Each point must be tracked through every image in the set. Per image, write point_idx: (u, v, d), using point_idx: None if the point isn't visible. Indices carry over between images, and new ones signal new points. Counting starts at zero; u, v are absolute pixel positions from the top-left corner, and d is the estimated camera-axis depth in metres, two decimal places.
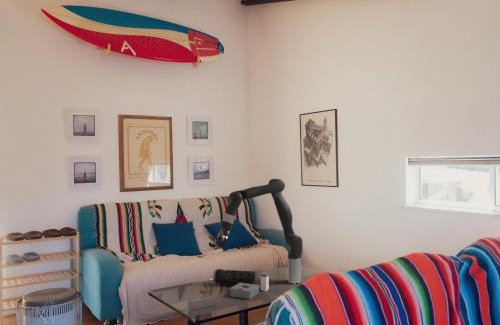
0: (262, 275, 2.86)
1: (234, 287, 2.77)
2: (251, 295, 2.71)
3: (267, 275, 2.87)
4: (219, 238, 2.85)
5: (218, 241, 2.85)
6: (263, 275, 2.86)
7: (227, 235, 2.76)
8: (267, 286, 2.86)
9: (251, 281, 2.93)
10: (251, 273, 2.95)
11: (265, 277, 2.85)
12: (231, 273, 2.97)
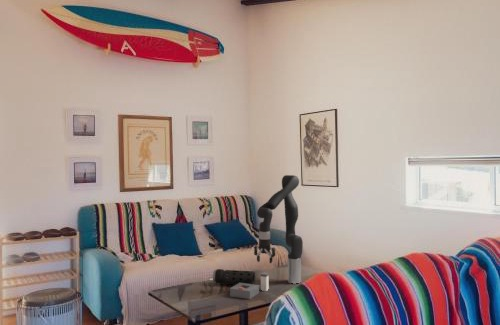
0: (262, 275, 2.86)
1: (234, 287, 2.77)
2: (251, 295, 2.71)
3: (267, 275, 2.87)
4: None
5: (259, 258, 2.89)
6: (263, 275, 2.86)
7: (274, 251, 2.84)
8: (267, 286, 2.86)
9: (251, 281, 2.93)
10: (251, 273, 2.95)
11: (265, 277, 2.85)
12: (231, 273, 2.97)
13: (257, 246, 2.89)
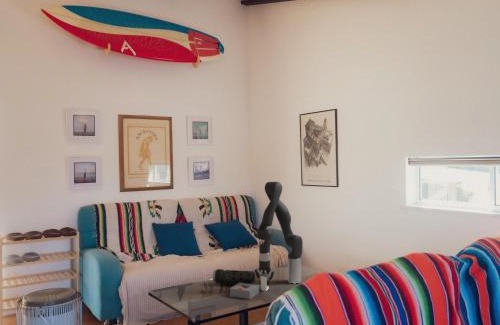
0: (262, 275, 2.86)
1: (234, 287, 2.77)
2: (251, 295, 2.71)
3: None
4: None
5: None
6: (263, 275, 2.86)
7: (272, 275, 2.85)
8: (267, 286, 2.86)
9: (251, 281, 2.93)
10: (251, 273, 2.95)
11: (265, 277, 2.85)
12: (231, 273, 2.97)
13: None
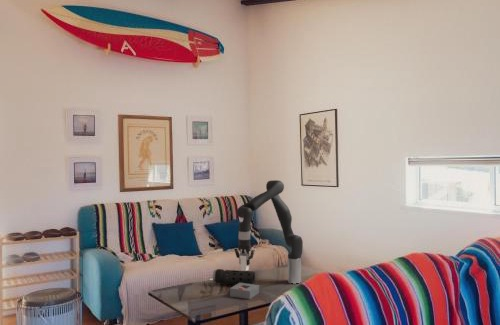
0: (242, 254, 2.76)
1: (234, 287, 2.77)
2: (251, 295, 2.71)
3: (247, 254, 2.77)
4: None
5: None
6: (243, 254, 2.76)
7: (252, 254, 2.75)
8: (247, 266, 2.77)
9: (251, 281, 2.93)
10: (251, 273, 2.95)
11: (245, 256, 2.76)
12: (231, 273, 2.97)
13: (237, 248, 2.80)
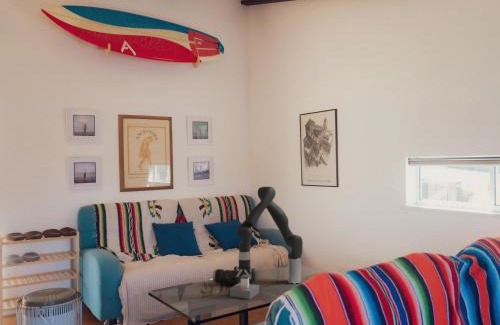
0: (242, 277, 2.77)
1: (234, 287, 2.77)
2: (251, 295, 2.71)
3: (247, 277, 2.77)
4: None
5: (239, 279, 2.80)
6: (243, 277, 2.76)
7: (254, 272, 2.75)
8: None
9: None
10: (251, 273, 2.95)
11: (245, 279, 2.76)
12: (231, 273, 2.97)
13: None
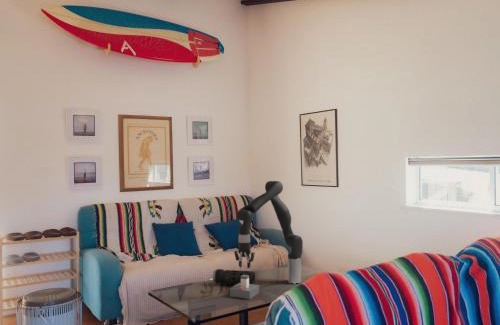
0: (242, 277, 2.77)
1: (234, 287, 2.77)
2: (251, 295, 2.71)
3: (247, 277, 2.77)
4: (241, 261, 2.79)
5: (241, 264, 2.79)
6: (243, 277, 2.76)
7: (253, 256, 2.75)
8: None
9: (251, 281, 2.93)
10: (251, 273, 2.95)
11: (245, 279, 2.76)
12: (231, 273, 2.97)
13: None
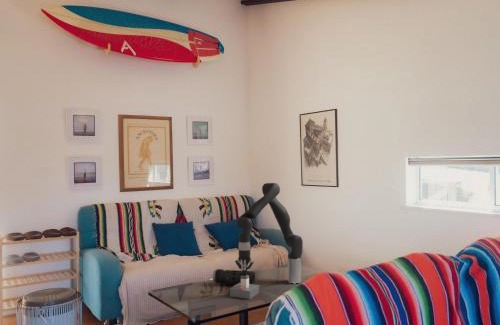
0: (242, 277, 2.77)
1: (234, 287, 2.77)
2: (251, 295, 2.71)
3: (247, 277, 2.77)
4: None
5: None
6: (243, 277, 2.76)
7: (251, 265, 2.76)
8: None
9: (251, 281, 2.93)
10: (251, 273, 2.95)
11: (245, 279, 2.76)
12: (231, 273, 2.97)
13: None
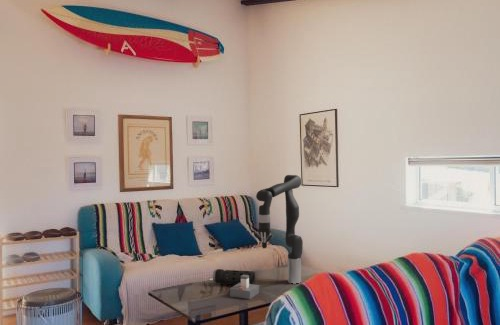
0: (242, 277, 2.77)
1: (234, 287, 2.77)
2: (251, 295, 2.71)
3: (247, 277, 2.77)
4: None
5: None
6: (243, 277, 2.76)
7: None
8: None
9: (251, 281, 2.93)
10: (251, 273, 2.95)
11: (245, 279, 2.76)
12: (231, 273, 2.97)
13: (257, 232, 2.83)
